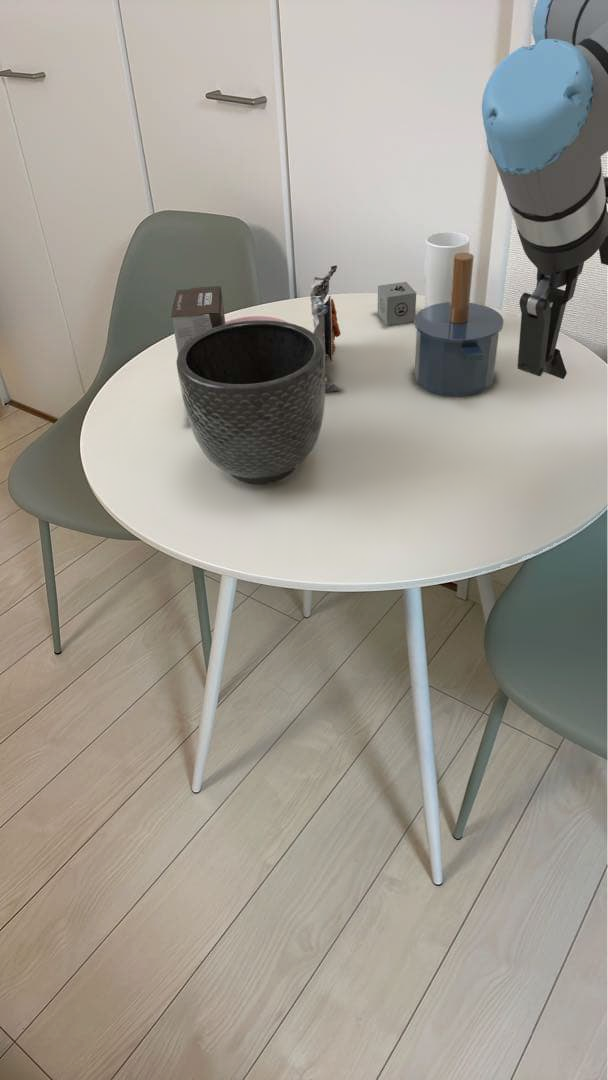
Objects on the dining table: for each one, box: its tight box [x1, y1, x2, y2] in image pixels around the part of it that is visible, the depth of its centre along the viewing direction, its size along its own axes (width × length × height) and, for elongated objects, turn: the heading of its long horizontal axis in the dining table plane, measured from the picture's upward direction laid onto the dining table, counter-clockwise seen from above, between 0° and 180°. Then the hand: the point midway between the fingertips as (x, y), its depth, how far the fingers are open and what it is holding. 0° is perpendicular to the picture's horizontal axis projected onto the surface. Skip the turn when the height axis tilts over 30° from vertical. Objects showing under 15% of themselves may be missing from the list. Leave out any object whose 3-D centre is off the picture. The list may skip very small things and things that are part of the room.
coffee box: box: [170, 285, 226, 355], centre depth 104 cm, size 9×6×16 cm
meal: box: [310, 265, 342, 393], centre depth 112 cm, size 15×4×13 cm, turn 0°
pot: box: [414, 330, 500, 397], centre depth 109 cm, size 11×17×8 cm
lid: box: [413, 252, 505, 343], centre depth 103 cm, size 12×12×10 cm
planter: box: [176, 320, 326, 485], centre depth 92 cm, size 17×17×16 cm
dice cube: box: [377, 281, 417, 327], centre depth 127 cm, size 5×5×5 cm
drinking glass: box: [423, 231, 471, 308], centre depth 118 cm, size 7×7×15 cm
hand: (584, 318), depth 84 cm, fingers open, 13 cm apart
